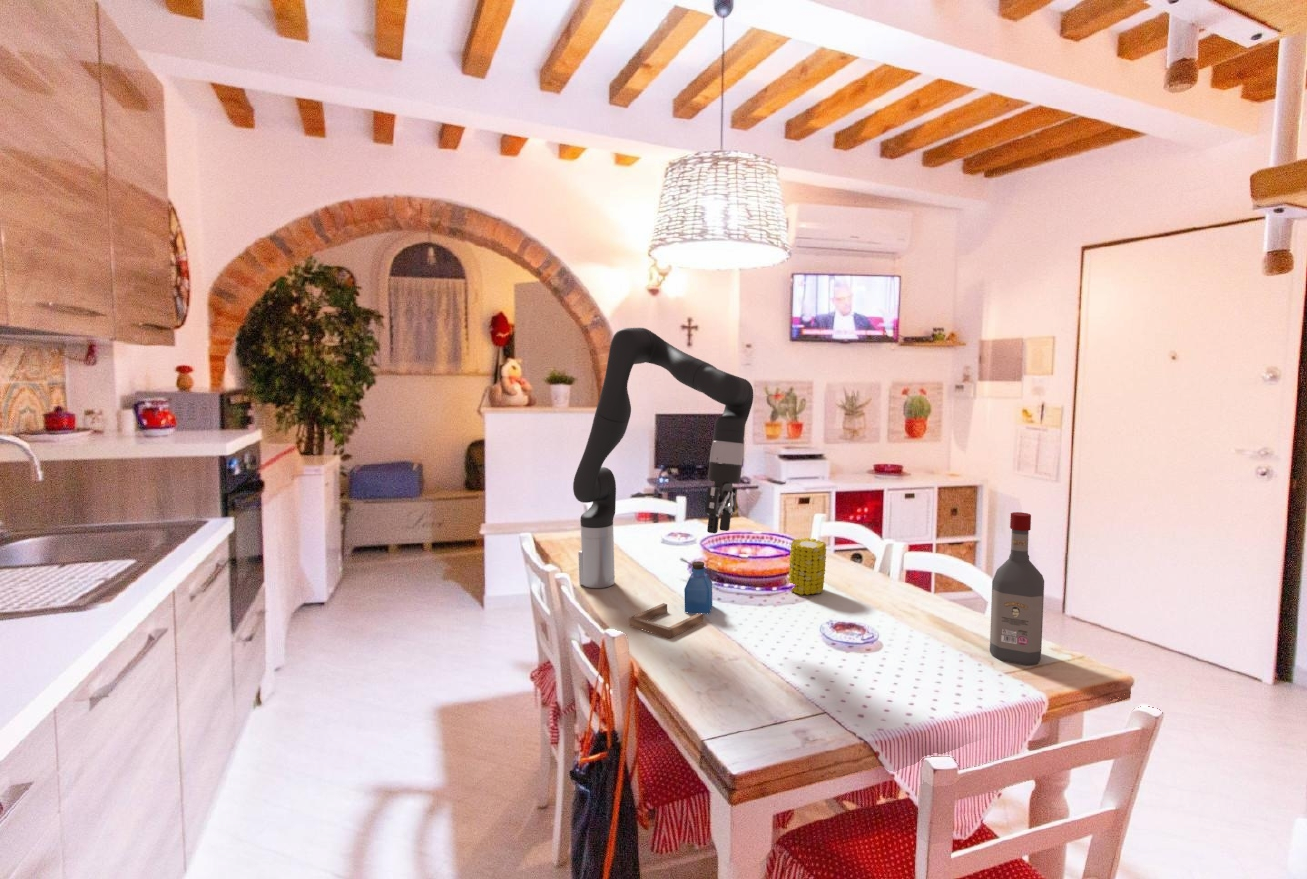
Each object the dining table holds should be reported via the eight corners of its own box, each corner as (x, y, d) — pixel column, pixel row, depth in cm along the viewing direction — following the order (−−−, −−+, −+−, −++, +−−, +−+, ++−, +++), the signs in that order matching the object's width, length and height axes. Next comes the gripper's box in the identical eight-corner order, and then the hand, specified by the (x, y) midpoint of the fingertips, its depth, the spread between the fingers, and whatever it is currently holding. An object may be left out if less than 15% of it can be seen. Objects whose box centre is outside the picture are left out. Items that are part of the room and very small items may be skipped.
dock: (663, 610, 172) (663, 603, 171) (703, 622, 164) (703, 614, 163) (629, 626, 162) (629, 617, 162) (669, 638, 154) (669, 630, 154)
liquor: (1039, 668, 136) (1045, 520, 132) (988, 659, 140) (993, 516, 137) (1041, 652, 143) (1047, 512, 140) (993, 643, 148) (998, 507, 145)
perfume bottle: (709, 614, 169) (708, 567, 168) (684, 612, 170) (684, 566, 169) (712, 605, 175) (711, 560, 174) (688, 604, 176) (687, 559, 175)
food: (811, 589, 191) (828, 602, 181) (773, 584, 188) (789, 597, 178) (824, 537, 189) (842, 548, 180) (786, 531, 186) (802, 541, 177)
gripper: (720, 461, 165) (713, 527, 165) (699, 459, 152) (692, 531, 152) (750, 464, 162) (743, 532, 162) (731, 462, 149) (723, 536, 149)
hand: (718, 531), depth 157 cm, fingers open, 8 cm apart
